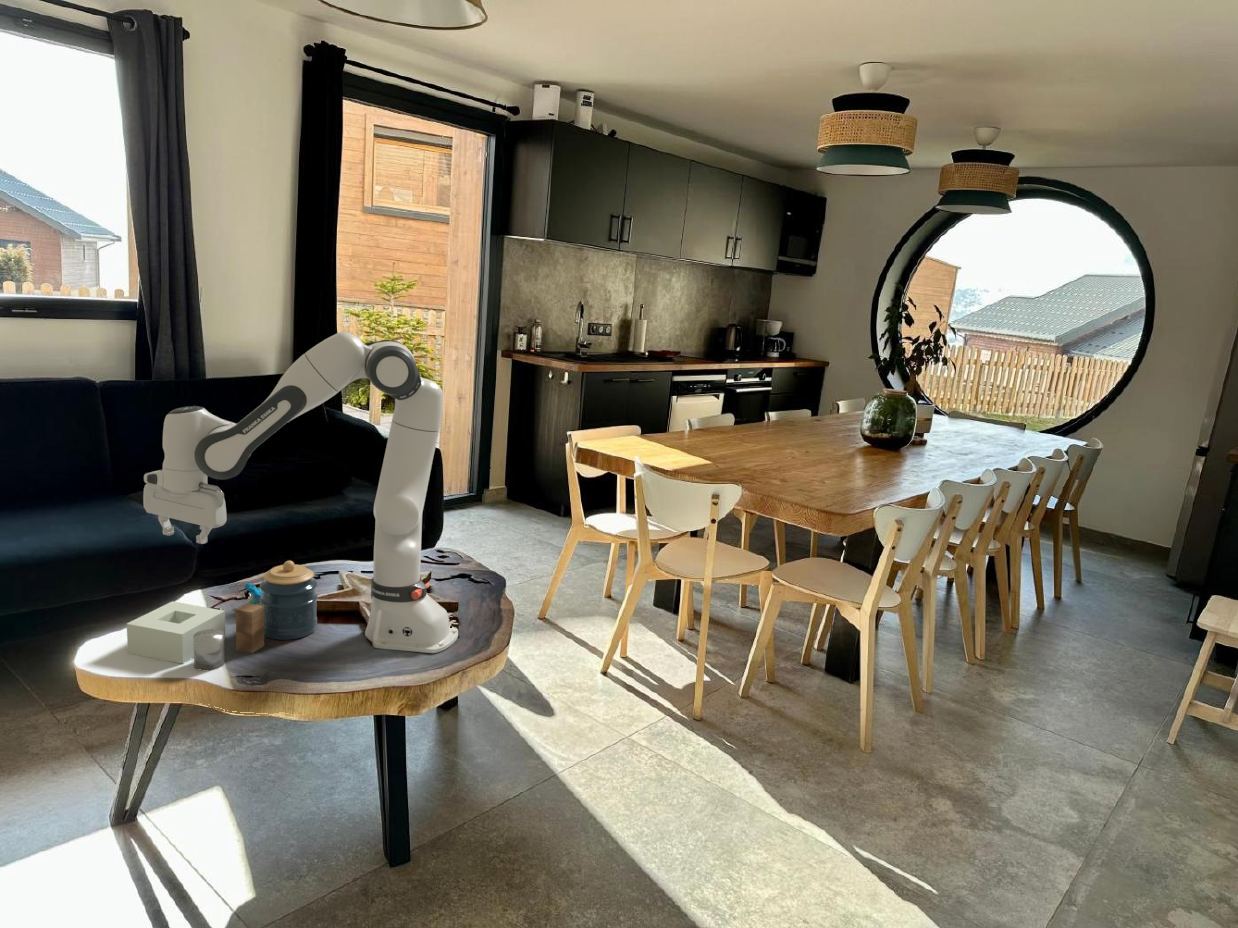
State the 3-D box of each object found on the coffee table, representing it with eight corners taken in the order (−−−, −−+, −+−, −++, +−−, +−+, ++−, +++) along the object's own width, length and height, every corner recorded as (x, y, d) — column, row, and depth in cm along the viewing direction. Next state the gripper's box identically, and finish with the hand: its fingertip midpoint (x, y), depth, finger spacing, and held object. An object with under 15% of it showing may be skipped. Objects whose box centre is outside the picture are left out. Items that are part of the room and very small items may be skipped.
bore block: (225, 638, 197) (224, 610, 196) (183, 663, 184) (182, 634, 182) (173, 628, 200) (172, 601, 198) (127, 652, 186) (126, 623, 185)
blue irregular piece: (281, 610, 211) (250, 585, 208) (263, 628, 210) (231, 603, 206) (277, 599, 221) (247, 575, 217) (260, 616, 220) (230, 592, 216)
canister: (303, 614, 214) (303, 548, 210) (326, 632, 205) (327, 564, 201) (251, 626, 205) (250, 557, 201) (273, 645, 196) (272, 574, 192)
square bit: (264, 645, 195) (263, 605, 193) (252, 653, 191) (252, 612, 189) (248, 642, 196) (247, 602, 194) (236, 650, 192) (235, 609, 190)
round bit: (230, 660, 187) (229, 631, 186) (212, 672, 181) (211, 642, 180) (206, 656, 188) (206, 627, 187) (187, 667, 182) (186, 637, 181)
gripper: (234, 484, 186) (232, 544, 189) (161, 468, 192) (161, 526, 195) (212, 490, 180) (211, 551, 183) (137, 473, 186) (138, 533, 189)
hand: (184, 538), depth 189 cm, fingers open, 8 cm apart
